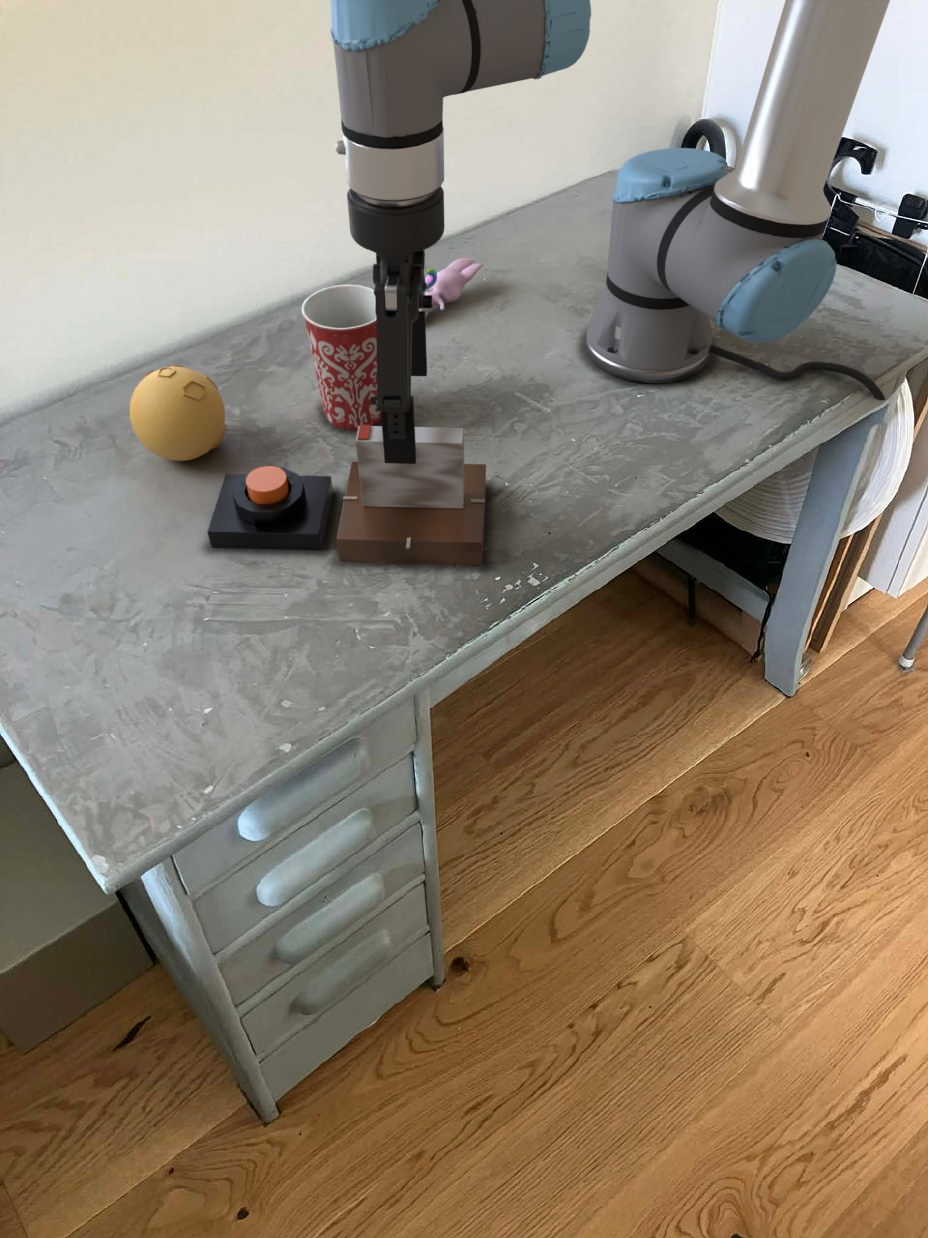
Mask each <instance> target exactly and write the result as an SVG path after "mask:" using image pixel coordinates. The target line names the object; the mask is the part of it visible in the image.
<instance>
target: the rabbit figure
mask: <svg viewBox="0 0 928 1238" xmlns="http://www.w3.org/2000/svg"><path fill="white" fill-rule="evenodd" d="M484 266H485V264H484V263H482V262H481V263H476V260H475V259H473V258H468V257H461V258H457V259H455V260H453V261H452V262H451V263H449V264H448V266H447V267H446V268H443V269H441V270H439V271H438V272H437V271H436V270H435V269H434V268H429V269H427V271H426V272H425V275H426V276H425V282H426V288H425V292H423V293H424V295H432V309H433V308H434V307H436V305H439V309H440V311H445V308H446V307H445V304H449V303H454V302H456V301H457V300H459V299H460V297H461V295H462V293H463V291H464V287H465V285H466V284H468V283H469V282H470V281H471V280H472V279H473V278H475V276H476V274H477V273H478V272H479V271H480V270H481V269H482V268H483V267H484ZM428 290H429V291H428ZM419 311H425V320H426V319H427V317H428V315H429V312H430V308H419Z"/></svg>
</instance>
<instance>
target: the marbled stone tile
mask: <svg viewBox="0 0 928 1238" xmlns="http://www.w3.org/2000/svg"><path fill="white" fill-rule="evenodd" d="M415 443H416V464H395V463H385V460H384V446H383V433H382V425H373V426H371V425H360V426H358V429H357V432H356V437H355V448H356V449H355V450H356V457H357V462H358V468H359V477H360V486H361V496H362V505H363V506H371V507H415V508H459V509H463V507H464V493H465V492H464V464H465V428H464V427H443V426H442V427H440V426H439V427H437V426H436V427H435V426H433V427H432V426H415Z"/></svg>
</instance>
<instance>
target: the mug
mask: <svg viewBox="0 0 928 1238" xmlns="http://www.w3.org/2000/svg"><path fill="white" fill-rule="evenodd" d="M300 312H301V315H302V317H303V319H304V322H305V327H306V332H307V337H308V341H309V346H310V351H311V355H312V361H313V365H314V370H315V375H316V380H317V384H318V385H317V386H318V389H319V393H320V398H321V403H322V404H321V405H322V409H323V413H324V416H325V418H326V420H327V421H328V422H329V424H331V425H333V426H334V427H336V428H339V429H342V430H351V431H354V430H358V426H360V425H371V426H376V425H377V424H379V423H380V422H382V419H381V411H378V410H377V407H376V405H371V397H377V331H376V313H375V295H374V288H371V287H368V286H365V285H360V284H337V285H330V286H327V287H325V288H324V287H323V288H322V289H321V288H320V289H318V290H317V291H315V292H313V293H312V294H310V295H309V296H307V298H305V299H304V302H302V304H301V311H300Z"/></svg>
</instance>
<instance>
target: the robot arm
mask: <svg viewBox="0 0 928 1238" xmlns="http://www.w3.org/2000/svg"><path fill="white" fill-rule="evenodd" d="M890 1H891V0H785V1H784V4H783V7H782V10H781V14H780V17H779V21H778V24H777V27H776V31H775V34H774V37H773V41H772V44H771V48H770V51H769V52H770V53H769V55H768V58H767V61H766V65H765V68H764V71H763V75H762V78H761V83H760V86H759V88H758V92H757V94H756V99H755V101H754V106H753V109H752V112H751V115H750V118H749V122H748V126H747V129H746V131H745V132H746V133H745V136H744V139H743V143H742V146H741V150H740V152H739V156H738V159H737V163H736V166H735V169H734V170H732V171H731V172H728V162H727V160H726V159H725V158H724V157H723V156H721V155H720V154H718V153H716V152H713V151H710V150H706V149H700V148H693V147H691V148H690V147H670V148H660V149H653V150H650V151H649V150H648V151H646V152H642V153H639V154H637V155H634V156H633V157H630V158H629V159H628V160H626V161H625V162H624V164H622V166H621V167H620V169H619V171H618V173H617V179H616V183H615V191H614V193H613V195H612V210H611V222H610V223H611V224H610V235H609V248H608V258H607V259H608V260H607V271H606V282H605V287H604V289H603V291H602V294H601V295H600V298H599V300H598V302H597V304H596V306H595V309H594V310H593V313H592V315H591V318H590V319H589V322H588V324H587V327H586V331H585V341H584V349H585V352H586V355H587V357H588V358H589V359H590V360H591V362H592V363H593V364H595V366H597V367H598V368H599V369H601V370H603V371H604V372H605V373H608V374H610V375H612V376H615V377H617V378H620V379H624V380H627V381H631V382H638V383H644V384H645V383H647V384H661V383H662V384H663V383H671V382H676V381H680V380H684V379H686V378H689V377H691V376H694V375H695V374H697V373H698V372H700V371H701V370H703V369H704V368H705V366H706V365H707V364H708V363H709V360H710V357H711V354H712V355H715V356H718V357H721V358H723V359H726V360H730V361H731V362H735V363H737V364H740V365H743V366H745V367H747V368H749V369H752V370H755V371H758V372H760V373H762V374H764V375H767V376H768V377H771V378H772V379H775V380H779V381H791V380H794V379H797V378H798V377H800V376H802V375H803V374H804V373H805V372H808V371H824V372H833V373H837V374H843V375H846V376H848V377H850V378H852V379H854V380H856V381H857V382H859V383H860V384H862V385H863V386H864V387H865V389H867V390H868V392H870V393H871V394H872V396H873V397H874V399H876V400H878V401H883V402H884V401H886V397H885V395H884V393H883V391H882V390H881V388H880V387H879V386H878V384H876V383H875V382H874V381H873V380H872V379H871V378H870V377H868V376H867V375H866V374H865V373H863V372H861V371H859V370H858V369H855V368H853V367H850V366H848V365H843V364H840V363H833V362H824V361H807V362H804V363H801V364H800V365H798V366H797V367H795V368H794V369H793V370H790V371H780V370H776V369H774V368H773V367H770V366H769V365H767V364H764V363H762V362H760V361H757V360H754V359H751V358H749V357H747V356H743V355H741V354H739V353H736V352H733V351H730V350H727V349H725V348H722V347H719V346H717V345H714V344H713V332H712V326H711V321H712V322H714V323H715V324H717V326H718V328H720V330H722V331H724V332H726V333H730V334H733V335H734V336H736V337H738V338H739V339H741V340H743V341H744V342H746V343H750V344H766V343H770V342H774V341H777V340H778V339H781V338H783V337H785V336H786V335H788V334H790V333H792V332H793V331H794V330H796V329H797V328H798V327H799V326H800V325H801V324H802V323H804V322H805V321H807V320H808V318H809V317H810V316H812V314H813V313H814V312H815V311H816V309H817V308H818V307H819V306H820V305H821V303H822V302H823V301H824V299H825V297H826V296H827V295H828V292H829V291H830V288H831V286H832V284H833V282H834V279H835V276H836V272H837V259H836V253H835V251H834V249H833V248H832V247H831V246H830V244H829V242H828V241H826V240H824V239H823V238H824V234H825V231H826V229H827V226H828V223H829V221H830V218H831V215H832V206H831V204H830V202H829V201H828V199H827V197H826V195H825V192H824V187H825V185H826V181H827V179H828V177H829V173H830V171H831V168H832V165H833V162H834V159H835V156H836V154H837V151H838V148H839V145H840V142H841V140H842V137H843V134H844V131H845V128H846V125H847V123H848V120H849V117H850V114H851V111H852V108H853V106H854V104H855V100H856V97H857V95H858V91H859V88H860V85H861V83H862V80H863V77H864V75H865V73H866V69H867V66H868V64H869V61H870V58H871V56H872V52H873V49H874V47H875V43H876V41H877V38H878V35H879V33H880V30H881V27H882V24H883V22H884V18H885V15H886V13H887V10H888V7H889V4H890ZM591 18H592V4H591V0H330V22H331V23H330V24H331V25H330V30H329V31H330V36H331V41H332V43H333V51H334V60H335V71H336V80H337V81H336V82H337V90H338V98H339V99H338V100H339V107H340V117H341V118H340V120H341V121H340V124H341V125H340V126H341V132H342V140H337V141H336V142H335V152H336V153H337V154H338V155H343V156H345V161H344V167H345V168H344V169H345V180H346V184H347V186H348V187H349V189H348V191H347V193H346V200H347V201H346V202H347V212H348V223H349V233H350V236H351V237H352V239H353V241H354V242H355V243H356V244H357V245H358V246H360V247H361V248H363V249H365V250H367V251H371V252H373V253H375V263H373V265H372V282H373V284H374V287H373V289H374V295H375V313H376V331H377V397H371V405H376V407H377V410H378V411H381V419H382V420H381V426H382V433H383V446H384V460H385V463H395V464H416V443H415V427H416V424H415V402H414V401H415V400H414V396H413V395H412V377H428V376H427V375H428V359H427V358H428V357H427V328H426V327H427V326H426V325H427V324H426V319H425V311H419V308H430V309H433V308H432V295H424V293H423V292H426V291H425V288H426V282H425V278H426V276H425V275H426V274H425V265H426V264H425V263H426V262H425V260H426V252H425V250H427V249H429V248H431V247H433V246H434V245H437V244H438V242H439V241H440V240H441V239H442V237H443V236H444V232H445V192H444V188H443V187H442V185H443V183H444V181H445V145H444V144H445V135H444V134H445V132H444V130H445V128H444V119H443V117H444V98H446V97H449V96H456V95H461V94H465V93H468V92H472V91H476V90H477V91H478V90H482V89H487V88H491V87H497V86H502V85H507V84H511V83H517V82H521V81H527V80H532V79H533V80H540V79H542V77H543V76H546V75H549V74H552V73H556V72H559V71H563V70H566V69H569V68H570V67H572V66H573V65H575V64H576V63H577V62H578V61H579V59H580V58H581V57H582V56H583V54H584V52H585V50H586V48H587V45H588V41H589V38H590V33H591ZM430 309H429V310H430ZM710 320H711V321H710Z"/></svg>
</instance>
